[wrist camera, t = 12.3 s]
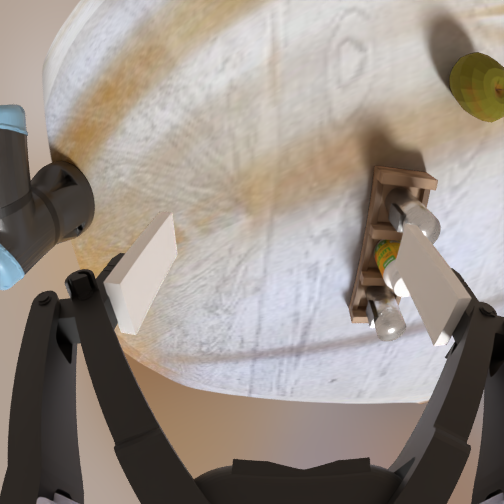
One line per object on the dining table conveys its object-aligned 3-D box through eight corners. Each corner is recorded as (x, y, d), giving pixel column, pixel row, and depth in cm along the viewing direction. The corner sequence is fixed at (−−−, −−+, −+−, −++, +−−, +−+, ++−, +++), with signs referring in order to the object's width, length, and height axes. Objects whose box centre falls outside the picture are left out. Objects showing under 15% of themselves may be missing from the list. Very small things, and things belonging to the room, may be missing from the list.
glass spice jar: (359, 301, 51) (370, 341, 42) (365, 280, 48) (378, 319, 40) (386, 301, 50) (400, 340, 42) (393, 280, 48) (410, 319, 39)
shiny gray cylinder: (378, 214, 42) (400, 247, 33) (383, 185, 40) (408, 212, 31) (409, 217, 42) (435, 249, 33) (415, 188, 39) (444, 216, 30)
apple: (447, 43, 27) (488, 38, 18) (491, 75, 28) (534, 80, 18) (431, 97, 32) (472, 103, 23) (476, 125, 33) (518, 141, 23)
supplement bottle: (380, 232, 43) (400, 266, 35) (407, 240, 44) (430, 274, 35) (367, 260, 46) (382, 297, 38) (394, 267, 46) (412, 304, 38)
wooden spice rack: (348, 308, 53) (351, 323, 50) (374, 165, 39) (382, 173, 36) (391, 308, 52) (396, 322, 49) (426, 172, 38) (437, 180, 35)
